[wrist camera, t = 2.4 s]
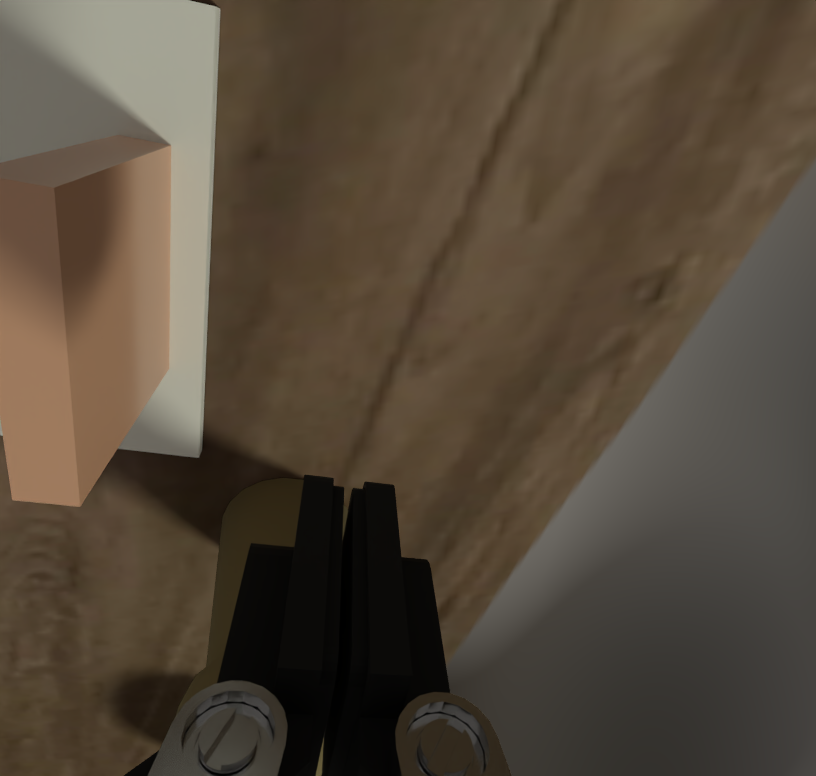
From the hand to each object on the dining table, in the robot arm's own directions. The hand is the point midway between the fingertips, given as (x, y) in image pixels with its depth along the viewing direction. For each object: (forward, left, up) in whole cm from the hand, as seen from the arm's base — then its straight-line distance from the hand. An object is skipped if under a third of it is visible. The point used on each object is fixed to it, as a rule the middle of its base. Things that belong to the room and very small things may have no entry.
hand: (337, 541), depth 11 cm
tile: (-1, -7, -12) cm, 14 cm away
